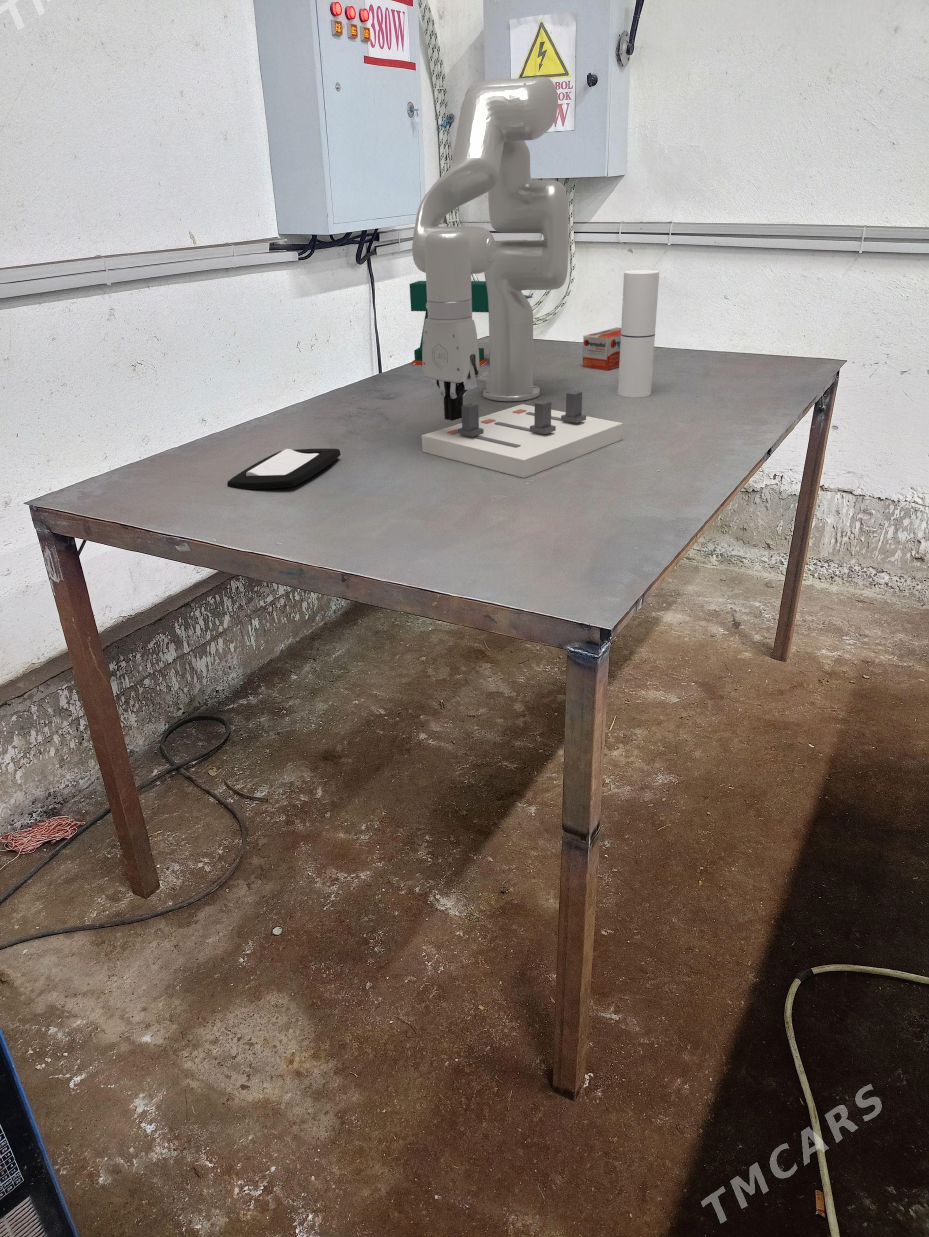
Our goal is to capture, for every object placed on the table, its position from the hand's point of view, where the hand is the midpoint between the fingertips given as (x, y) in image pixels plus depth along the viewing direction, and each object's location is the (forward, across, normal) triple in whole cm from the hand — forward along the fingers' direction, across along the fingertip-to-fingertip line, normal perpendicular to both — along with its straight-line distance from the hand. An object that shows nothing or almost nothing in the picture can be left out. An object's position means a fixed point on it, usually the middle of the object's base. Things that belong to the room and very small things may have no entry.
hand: (454, 418), depth 153 cm
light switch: (+6, -14, -28) cm, 31 cm away
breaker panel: (+6, +8, +9) cm, 14 cm away
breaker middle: (+2, +13, +9) cm, 16 cm away
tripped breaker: (+2, +4, 0) cm, 4 cm away
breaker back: (+2, +13, +18) cm, 22 cm away
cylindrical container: (+6, +2, +54) cm, 54 cm away
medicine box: (+6, -20, +78) cm, 80 cm away
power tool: (+6, -49, +57) cm, 75 cm away
